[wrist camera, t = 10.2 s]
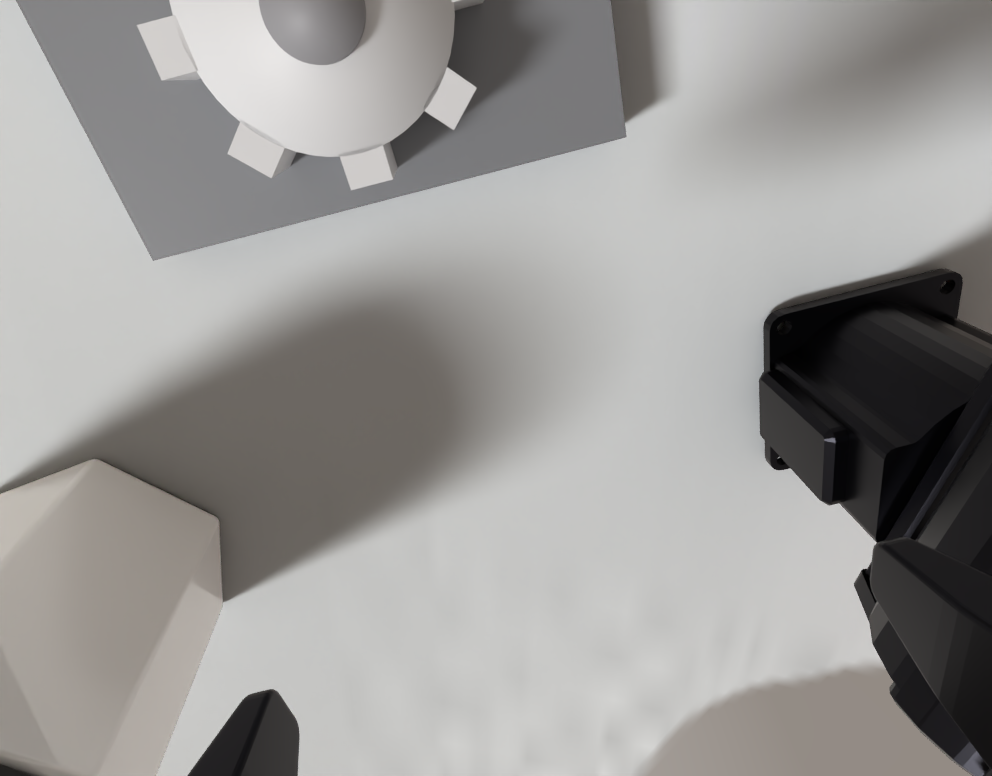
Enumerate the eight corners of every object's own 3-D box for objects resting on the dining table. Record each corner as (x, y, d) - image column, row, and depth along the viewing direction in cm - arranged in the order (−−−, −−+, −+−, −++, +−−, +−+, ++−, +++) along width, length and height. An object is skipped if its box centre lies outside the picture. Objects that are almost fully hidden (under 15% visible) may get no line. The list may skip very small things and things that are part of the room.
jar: (151, 427, 20) (-171, 832, 9) (276, 587, 24) (150, 1002, 13) (-78, 514, 20) (-622, 982, 10) (79, 656, 24) (-192, 1103, 14)
